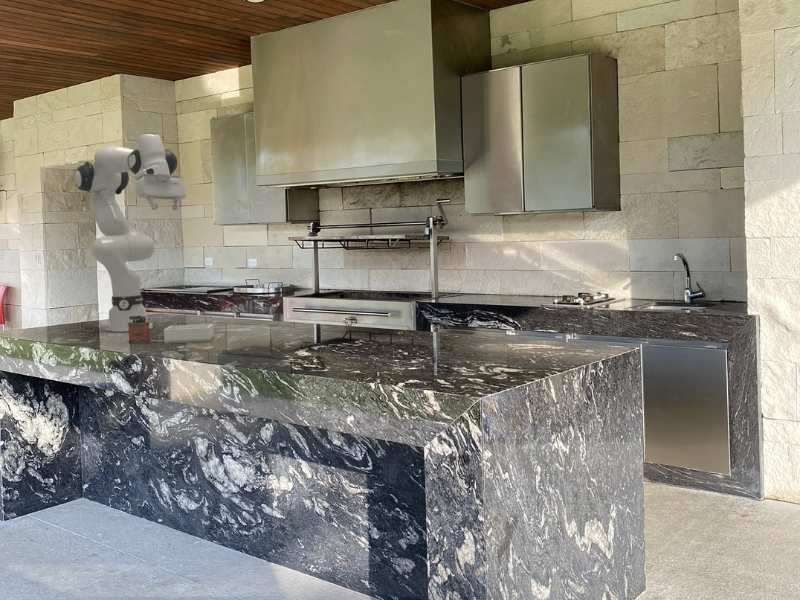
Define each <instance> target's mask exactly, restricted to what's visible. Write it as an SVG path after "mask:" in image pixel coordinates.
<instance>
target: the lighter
mask: <svg viewBox="0 0 800 600" xmlns="http://www.w3.org/2000/svg"><path fill="white" fill-rule="evenodd" d="M146 316H147V315H146ZM146 316H141V315H139V316H137V317H136V316H130V317H129V320H133V322H129V323H128V329H129V331H128V344H149V343H152V340H151V329H149V324H150V323H151V322H150V321H147V322H146ZM135 320H136V321H135Z"/></svg>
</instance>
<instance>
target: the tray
mask: <svg viewBox="0 0 800 600" xmlns="http://www.w3.org/2000/svg"><path fill="white" fill-rule="evenodd" d="M214 330H215V329H214V323H204V324H202V323H201V324H185V325H184V324H183V325H181V324H179V325H178V324H177V325H168V326H167V327H166V328H164V329H163V334H164V335H163V336H164V337H163V339H164V340H163V341H164V345H165V344H167V345H168V344H184V343H185V344H186V343H187V344H188V343H189V344H190V343H206V342H207V343H209V342H211V341H212V340H213V339H214V338H215V331H214Z"/></svg>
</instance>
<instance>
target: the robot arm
mask: <svg viewBox="0 0 800 600" xmlns="http://www.w3.org/2000/svg"><path fill="white" fill-rule="evenodd" d="M137 140H138V143H137V146H136V147H135V149H131V148H128V147H124V146H120V145H115V144H113V145H112V144H111V145H110V144H109V145H105V146H102V147H99V148H98V149H97V150H96V151H95V153H94V157H93V158H94V159H93V161H92V162H89V161H86V162H84V164H82V165H79V166H78V167H77V169H76V170H75V171H74V178H73V179H74V180H73V181H74V184H75V186H76V188H77V189H78V190H80V191H83V192H92V193H91V194H90V196H89V198H88V199H89V206H90V211H91V213H92V216H93V218H94V220H95V222H96V225H97V226H98V229H99V231H100V232H101V233H102V235H103V236H101V237H97V238H96V239H95V240H93V242H92V245H91V253H92V256H93V258H94V259H95V260H96V261H97V262H98V263H101V265H102V266H103V267H104V268H105V269H106V270H107V272H108V275H109V278H110V283H111V291H112V292H111V293H112V296H111V305H112V307H111V308H110V309H109V310H108V327H106V328H104V329H105V330H104V331H105V332H107V331H108V332H119V333H121V332H122V333H123V332H129V329H128V323H129V322H133V320H129V317H130V316H136V317H137V316H139V315H141V316H146V322H149V317H147V316H148V315H147V309H146V308H145V306H144V305H143V295H142V294H141V293H142V292H141V278H140V277H139V275H138V274H137V273H136V272H135V271H133V270H131V269H129V268H128V266H127V263H128V262H140V261H144V260H147V259H150V258H152V256H153V255H154V253H155V244H154V243H155V242H154V241H153V239H152V238H151V237H150V236H149V235H147V234H144V233H142V232H140V231H139V230H137V229H136V228H134V227H133V226H132V225H131V224H130V223H129V221H127V219H126V217H125V216H124V214H123V212H122V210H121V207H120V206H119V204H118V202H117V199H116V196H115V195H120V194H122V191H124V190H125V189H126V188H127V186H128V184H129V181H130V176H129V172H132V173H133V174H134V175H133V177H134V178H133V179H134V180H135V182H134V187H135V193H136V196H137V197H138V198H139V199H146V200H147V203H148V204H149V206H150V207H151V210H153V211H157V210H158V209H159V206H158V203H155V201H154V200H172V202H173V205H172V206H171V209H172V211H178V210H179V203H180V201H181V200H183V199H185V198H186V197H187V193H186V189H185V185H184V183H183V181H182V180H183V179H181V178H180V176H178V175H173V173H174V172H175V171H176V169H177V168H178V158H177V156H176V154H175V153H174V152H173V151H172V150H171V149H169V148H167V149H165V146H164V142H163V140H162V138H161V136H160V135H159V134H158V133H156V132H147V133H145V132H144V133H142V134H140V135H139V136H138V139H137ZM135 321H136V320H135ZM153 326H154V325H153V322H150V324H149V329H150V330H152V329H153V328H154V327H153Z"/></svg>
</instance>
